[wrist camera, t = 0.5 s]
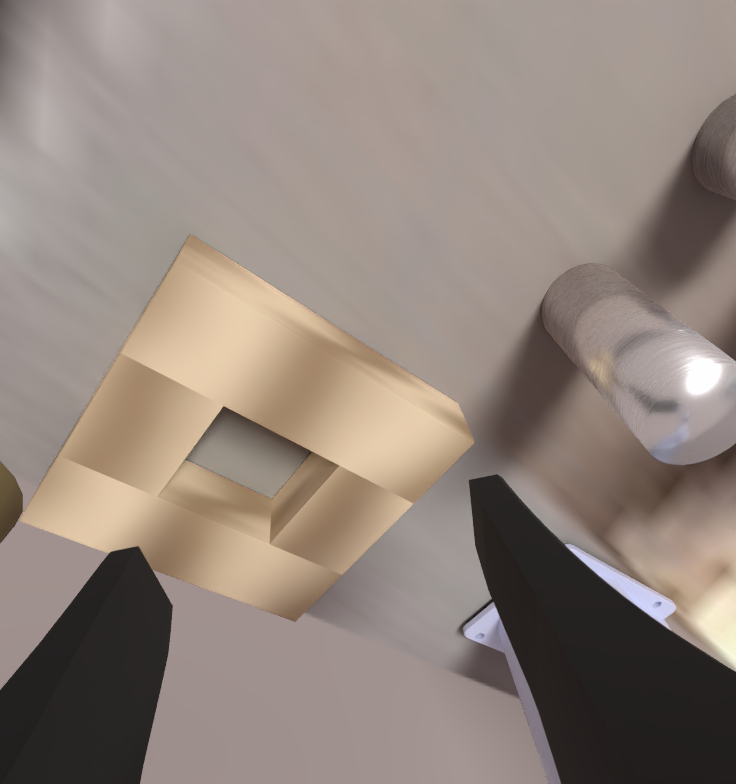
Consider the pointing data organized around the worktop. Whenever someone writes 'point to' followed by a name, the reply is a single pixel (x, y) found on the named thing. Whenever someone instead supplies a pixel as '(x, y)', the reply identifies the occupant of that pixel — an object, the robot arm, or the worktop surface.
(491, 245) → the worktop surface
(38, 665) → the robot arm
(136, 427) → the oak frame
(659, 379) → the long pin
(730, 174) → the short pin
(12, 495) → the cork
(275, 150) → the worktop surface
